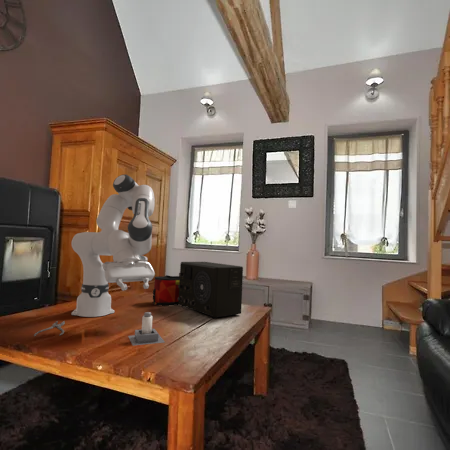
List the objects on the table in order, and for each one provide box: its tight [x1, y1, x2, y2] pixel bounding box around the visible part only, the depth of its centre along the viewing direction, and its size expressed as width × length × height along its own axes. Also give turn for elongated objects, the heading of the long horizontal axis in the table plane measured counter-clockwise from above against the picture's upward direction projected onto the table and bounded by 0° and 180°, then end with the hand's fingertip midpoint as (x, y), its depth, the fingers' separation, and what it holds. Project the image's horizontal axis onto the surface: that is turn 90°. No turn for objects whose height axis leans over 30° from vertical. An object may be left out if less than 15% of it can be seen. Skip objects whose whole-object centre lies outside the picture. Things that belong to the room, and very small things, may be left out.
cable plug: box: [141, 311, 153, 334], centre depth 109 cm, size 4×4×9 cm
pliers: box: [33, 320, 66, 337], centre depth 119 cm, size 10×1×20 cm
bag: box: [152, 274, 180, 307], centre depth 181 cm, size 30×14×16 cm, turn 125°
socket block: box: [128, 328, 166, 346], centre depth 109 cm, size 11×11×4 cm
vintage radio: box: [178, 261, 244, 319], centre depth 164 cm, size 38×20×25 cm, turn 39°
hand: (136, 288), depth 120 cm, fingers open, 8 cm apart
